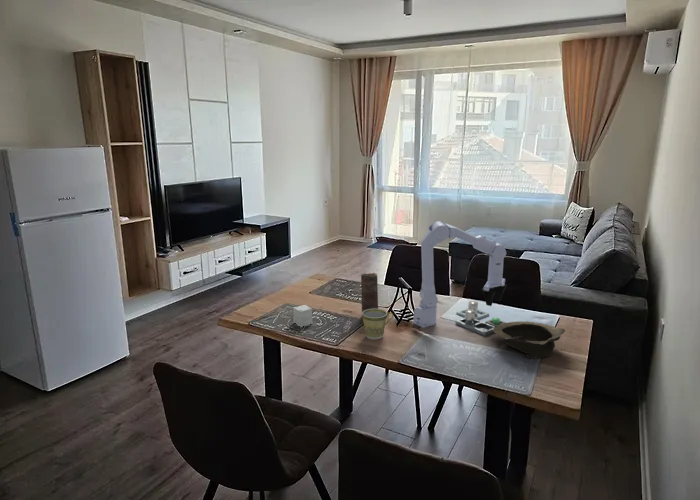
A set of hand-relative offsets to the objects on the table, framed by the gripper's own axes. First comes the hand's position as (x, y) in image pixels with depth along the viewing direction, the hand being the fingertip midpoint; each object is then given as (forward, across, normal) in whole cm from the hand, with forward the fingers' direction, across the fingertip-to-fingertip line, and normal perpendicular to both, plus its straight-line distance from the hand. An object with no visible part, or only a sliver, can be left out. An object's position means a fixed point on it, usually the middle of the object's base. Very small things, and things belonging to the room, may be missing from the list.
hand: (493, 303), depth 193 cm
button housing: (+10, -2, -2) cm, 10 cm away
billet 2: (+8, -9, +5) cm, 14 cm away
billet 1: (+9, +2, +10) cm, 14 cm away
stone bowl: (+10, -11, -20) cm, 25 cm away
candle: (+10, -30, +44) cm, 54 cm away
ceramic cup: (+10, -42, +27) cm, 51 cm away
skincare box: (+10, -56, +59) cm, 82 cm away
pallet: (+10, -10, +2) cm, 14 cm away
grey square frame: (+10, +2, +10) cm, 14 cm away
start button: (+10, -2, -2) cm, 10 cm away
